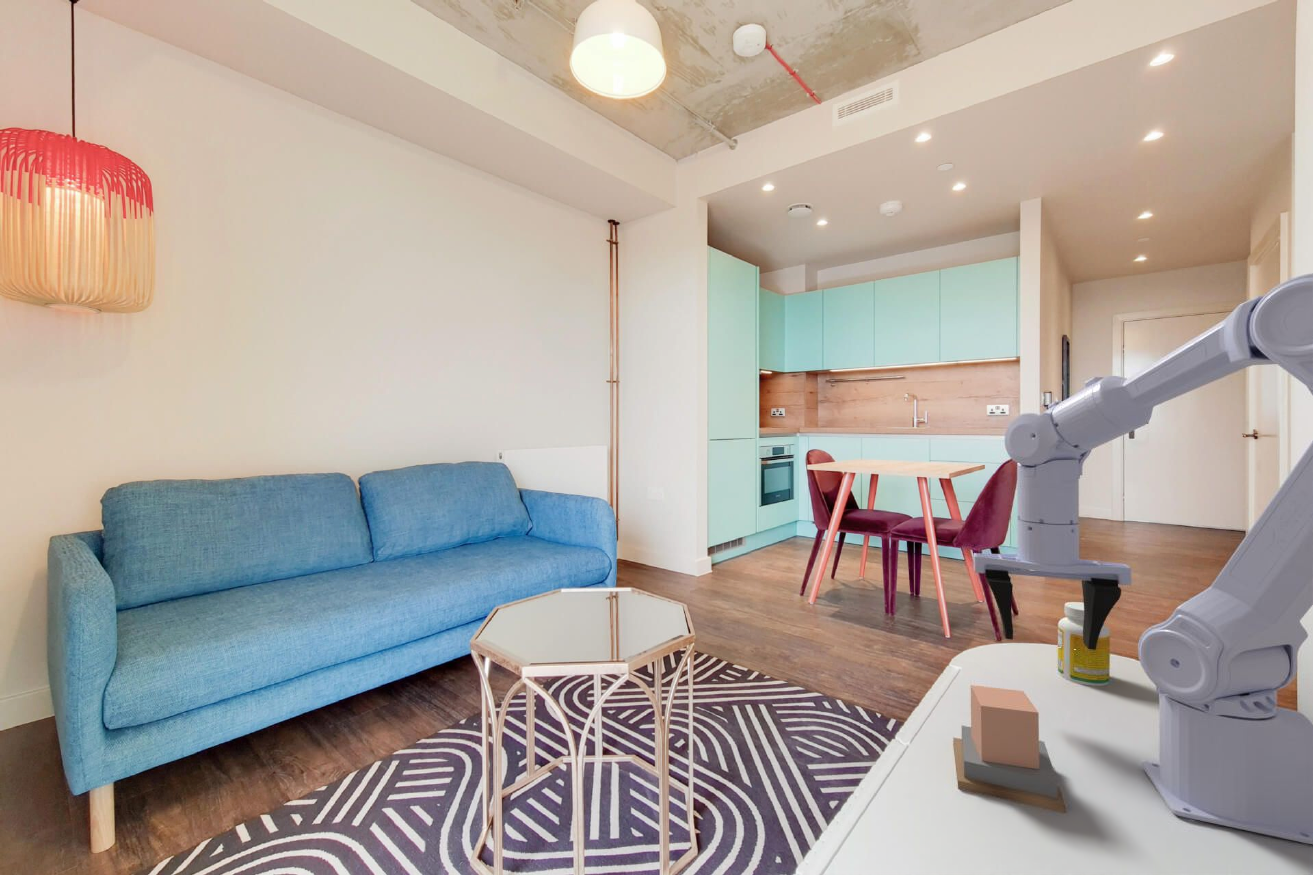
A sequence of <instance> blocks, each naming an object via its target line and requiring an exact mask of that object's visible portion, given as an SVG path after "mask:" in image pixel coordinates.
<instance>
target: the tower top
mask: <svg viewBox="0 0 1313 875" xmlns="http://www.w3.org/2000/svg"><path fill="white" fill-rule="evenodd" d="M961 739H962V753H963V768H964V777H965V778H969V779H973V780H978V781H982V782H986V783H990V784H995V785H999V786H1003V787H1007V788H1012V789H1016V790H1020V791H1024V792H1029V793H1033V794H1037V795H1041V796H1046V797H1050V798H1054V799H1057V784H1058V780H1057V776H1056V773H1055V770H1054V768H1053V764H1052V761H1051V758H1050V755H1049V753H1048V749H1047V747H1046V743H1045V741H1041V740H1039V769H1033V768H1027V767H1020V766H1013V765H1006V764H1000V763H993V762H986V761H982V760H981V758H980V756H979V753H978V751H977V749H976V746H975V744H974V741H973V739H972V736H971V726H967V725H961Z"/></svg>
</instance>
